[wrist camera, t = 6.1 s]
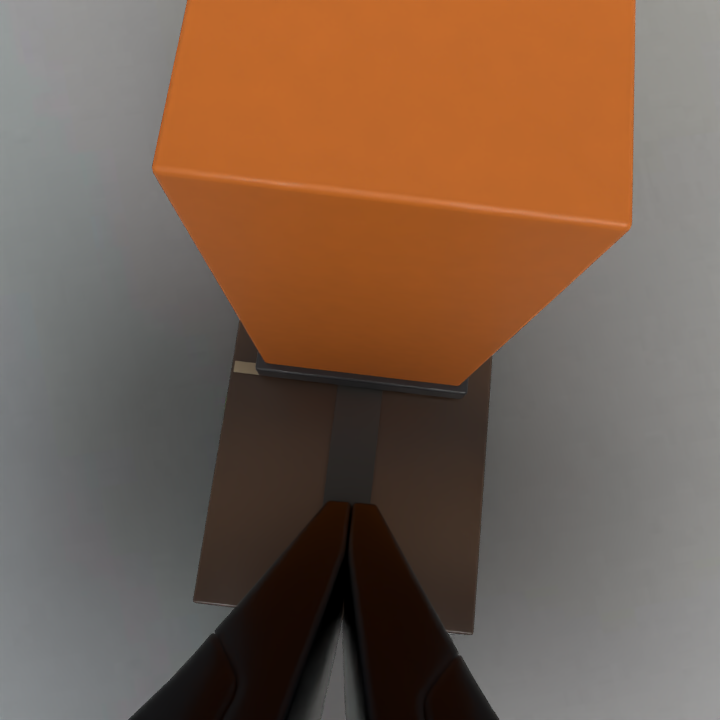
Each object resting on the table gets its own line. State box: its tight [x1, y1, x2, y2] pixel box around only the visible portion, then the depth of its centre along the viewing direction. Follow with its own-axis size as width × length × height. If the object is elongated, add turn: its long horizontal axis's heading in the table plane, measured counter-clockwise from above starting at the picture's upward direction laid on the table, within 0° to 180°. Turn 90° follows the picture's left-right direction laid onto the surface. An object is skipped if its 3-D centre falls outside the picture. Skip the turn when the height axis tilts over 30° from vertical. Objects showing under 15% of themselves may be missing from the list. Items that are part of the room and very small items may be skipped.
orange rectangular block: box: [152, 0, 635, 399], centre depth 11 cm, size 4×5×10 cm
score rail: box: [193, 320, 492, 635], centre depth 16 cm, size 20×7×4 cm, turn 173°
